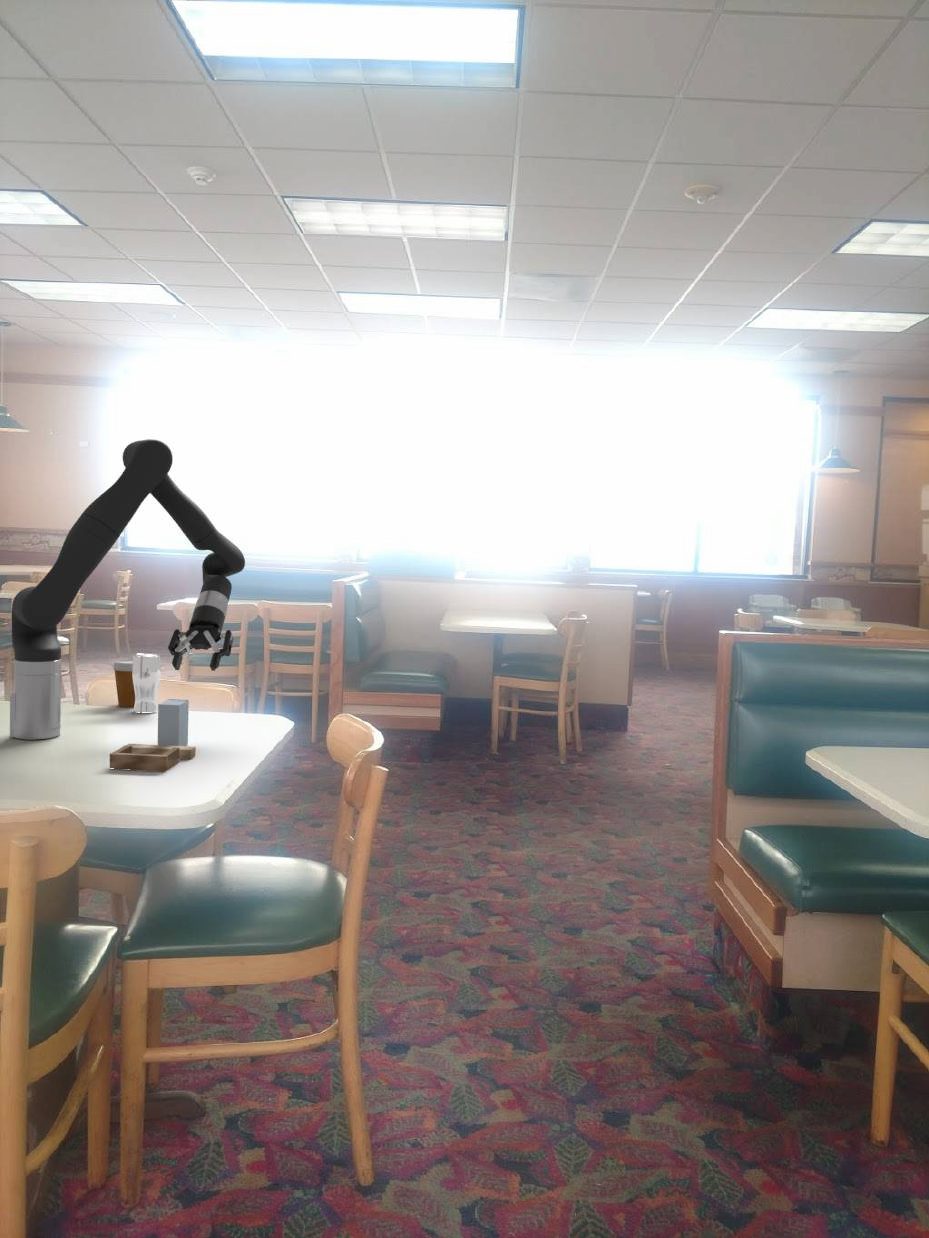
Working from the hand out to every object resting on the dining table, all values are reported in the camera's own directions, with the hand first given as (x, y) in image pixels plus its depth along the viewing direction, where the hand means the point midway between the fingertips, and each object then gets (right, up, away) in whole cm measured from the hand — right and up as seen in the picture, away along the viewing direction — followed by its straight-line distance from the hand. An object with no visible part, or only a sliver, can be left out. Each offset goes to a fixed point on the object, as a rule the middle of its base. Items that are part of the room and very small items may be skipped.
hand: (194, 668), depth 192 cm
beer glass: (-21, -13, +25) cm, 35 cm away
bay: (-1, -18, -26) cm, 32 cm away
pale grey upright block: (-1, -17, -12) cm, 20 cm away
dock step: (-1, -17, -19) cm, 26 cm away
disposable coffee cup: (-28, -12, +33) cm, 45 cm away
